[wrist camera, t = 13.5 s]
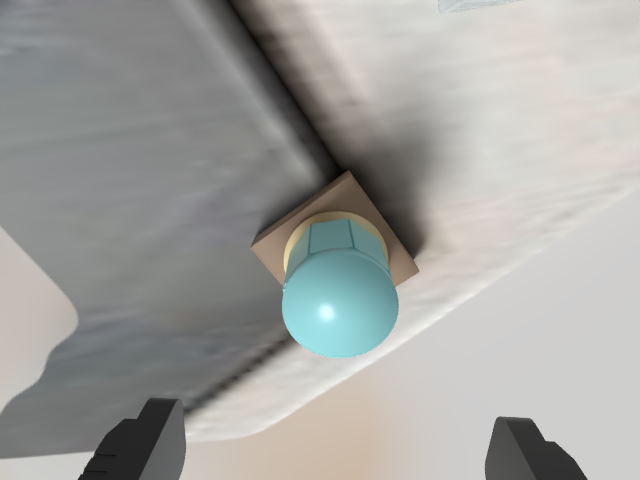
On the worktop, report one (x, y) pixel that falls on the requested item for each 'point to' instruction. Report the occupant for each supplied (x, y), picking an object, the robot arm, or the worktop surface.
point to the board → (330, 205)
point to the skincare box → (467, 4)
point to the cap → (338, 290)
